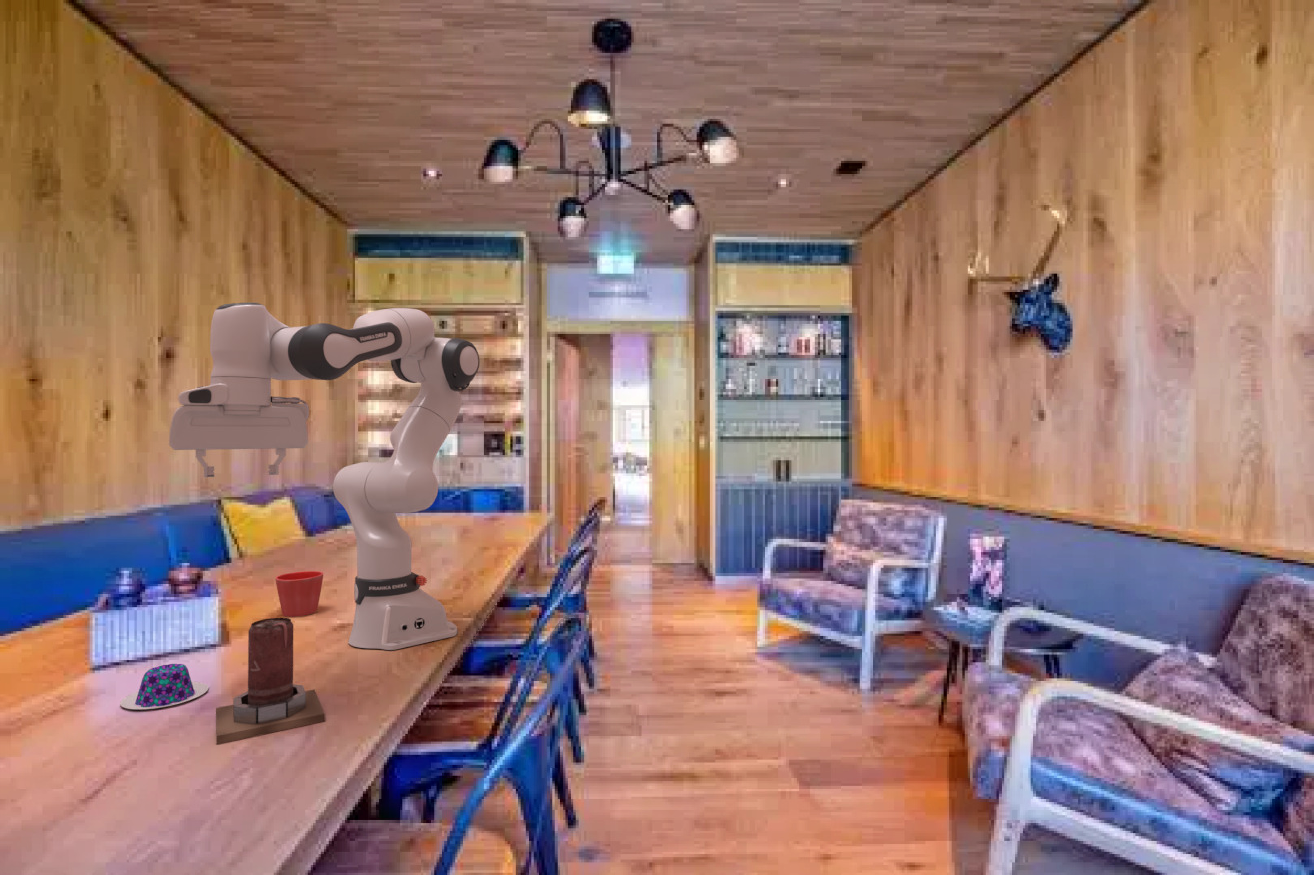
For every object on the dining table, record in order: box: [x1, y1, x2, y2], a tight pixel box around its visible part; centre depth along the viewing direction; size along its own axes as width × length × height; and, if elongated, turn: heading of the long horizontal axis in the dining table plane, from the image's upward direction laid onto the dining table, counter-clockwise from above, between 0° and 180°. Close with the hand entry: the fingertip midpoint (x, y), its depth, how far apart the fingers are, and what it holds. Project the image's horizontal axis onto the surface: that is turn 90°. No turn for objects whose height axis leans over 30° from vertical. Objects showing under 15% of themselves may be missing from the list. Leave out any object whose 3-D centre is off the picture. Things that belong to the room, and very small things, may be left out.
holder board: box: [215, 689, 326, 745], centre depth 103 cm, size 14×12×1 cm
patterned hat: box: [119, 663, 209, 710], centre depth 111 cm, size 12×12×5 cm
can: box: [247, 617, 294, 706], centre depth 103 cm, size 6×6×14 cm
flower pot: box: [275, 570, 324, 618], centre depth 166 cm, size 11×11×10 cm
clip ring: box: [232, 683, 306, 725], centre depth 103 cm, size 10×10×2 cm
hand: (242, 475), depth 113 cm, fingers open, 8 cm apart
